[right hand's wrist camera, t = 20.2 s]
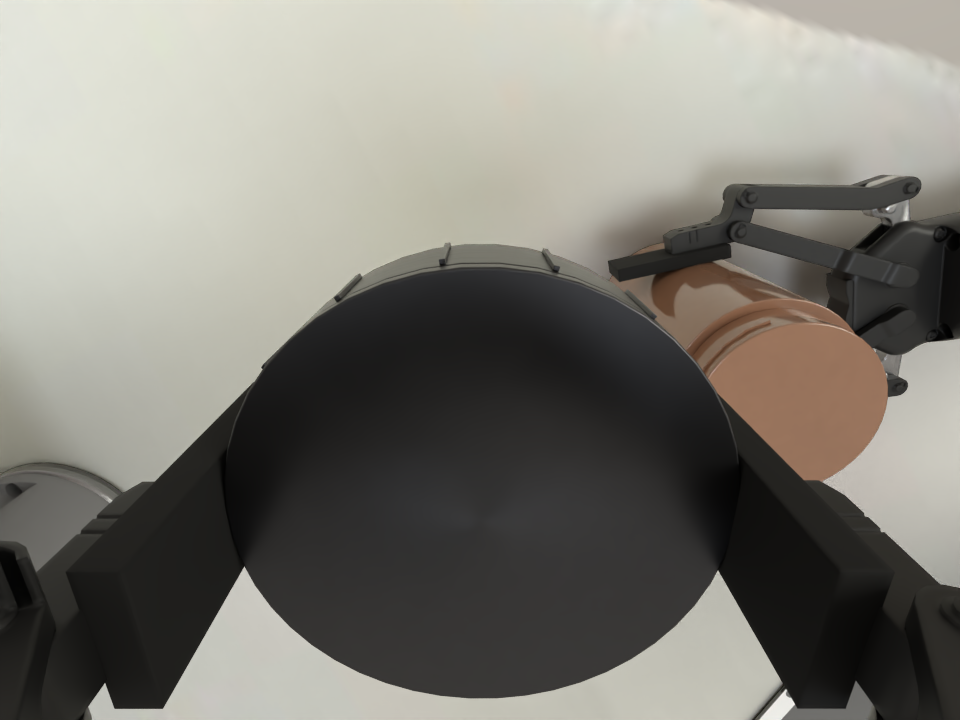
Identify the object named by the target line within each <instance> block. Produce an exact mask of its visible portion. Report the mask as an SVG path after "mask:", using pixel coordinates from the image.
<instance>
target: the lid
mask: <svg viewBox="0 0 960 720" xmlns="http://www.w3.org/2000/svg"><path fill="white" fill-rule="evenodd" d="M656 317H657V315H655V314H654V313H653V312H652V311H651V310H650V309H649V308H648V307H647V306H646V305H645V304H643V303H642V302H641V301H640V300H639V299H638V298H637V297H636V296H635V295H634V294H633V293H631V292H630V291H629V290H628V289H627V290H626V291H625V292H623V291H622V290H621V289H620V288H618V287H617V286H616V285H615V284H613V283H612V282H610V281H608V280H606V279H605V278H603V277H601V276H600V275H598V274H596V273H595V272H593V271H591V270H590V269H588V268H586V267H583V266H581V265H578V264H576V263H574V262H571V261H569V260H566V259H564V258H562V257H559V256H556V255H552V254H551V253H550V252H549V250H548V249H545V248H543V250H542V252H541V251H537V250H533V249H529V248H522V247H514V246H507V245H499V244H464V245H457V246H451V243H445V245H444V247H443V248H436V249H431V250H427V251H423V252H420V253H416V254H413V255H409V256H406V257H402V258H400V259H398V260H395V261H393V262H391V263H388V264H386V265H384V266H381V267H379V268H377V269H374V270H373V271H371V272H369V273H368V274H366V275H364V276H363V277H362V276H361V275H360V274H358V275H356V276H355V277H354V278H353V279H352V280H351V281H350V282H349V283H348V284H347V285H346V286H345V287H344V288H343V289H342V290H341V291H340V292H339V293H338V294H337V295H336V296H335V297H333V298H332V299H331V300H330V301H329V302H327V303H326V304H325V305H324V306H323V307H322V308H321V309H320V310H319V311H318V312H317V313H316V314H315V315H314V316H313V317H312V318H311V319H309V320H308V321H307V322H306V323H305V324H304V325H303V326H302V327H301V328H300V329H299V330H298V331H297V332H296V333H295V334H294V335H293V336H292V337H291V338H290V339H289V340H288V341H287V342H286V343H285V344H284V345H283V346H282V347H281V348H280V349H279V350H278V351H277V352H276V353H274V354H273V355H272V356H271V357H270V358H269V359H268V360H267V361H266V362H265V363H264V364H263V366H262V367H261V368H262V369H263V370H262V371H261V373H260V374H259V376H258V377H257V379H256V380H255V382H254V384H253V385H252V387H251V388H250V390H249V391H248V393H247V395H246V397H245V400H244V402H243V404H242V406H241V408H240V411H239V413H238V415H237V417H236V420H235V423H234V426H233V430H232V434H231V437H230V441H229V445H228V449H227V457H226V467H225V477H224V483H225V500H226V510H227V515H228V520H229V524H230V529H231V533H232V537H233V539H234V542H235V545H236V547H237V550H238V553H239V555H240V558H241V561H242V562H243V564H244V566H245V568H246V570H247V572H248V573H249V575H250V577H251V579H252V581H253V582H254V584H255V586H256V587H257V589H258V590H259V591H260V593H261V594H262V595H263V597H264V598H265V599H266V601H267V602H268V603H269V605H270V606H271V607H272V608H273V610H274V611H275V612H276V613H277V614H278V615H279V616H280V617H281V618H282V619H283V620H284V621H285V622H286V623H287V624H288V625H289V626H290V627H291V628H292V629H293V630H294V631H296V632H297V633H298V634H299V635H300V636H302V637H303V638H304V639H305V640H306V641H308V642H309V643H310V644H311V645H313V646H314V647H316V648H317V649H319V650H320V651H322V652H323V653H325V654H327V655H328V656H330V657H331V658H333V659H334V660H336V661H338V662H340V663H342V664H344V665H346V666H348V667H350V668H351V669H353V670H355V671H357V672H359V673H362V674H364V675H367V676H369V677H372V678H374V679H377V680H380V681H382V682H385V683H388V684H391V685H395V686H398V687H402V688H405V689H409V690H412V691H418V692H423V693H429V694H434V695H439V696H449V697H460V698H504V697H515V696H525V695H531V694H536V693H541V692H546V691H552V690H556V689H559V688H563V687H566V686H569V685H573V684H576V683H580V682H582V681H585V680H587V679H590V678H592V677H595V676H597V675H600V674H602V673H605V672H607V671H609V670H611V669H613V668H615V667H617V666H619V665H621V664H623V663H624V662H626V661H628V660H630V659H632V658H633V657H635V656H636V655H638V654H639V653H641V652H642V651H644V650H645V649H647V648H648V647H650V646H651V645H653V644H654V643H656V642H657V641H658V640H659V639H660V638H662V637H663V636H664V635H665V634H666V633H668V632H669V631H670V630H671V629H672V628H673V627H675V626H676V625H677V624H678V623H679V622H680V621H681V619H682V618H683V617H684V616H685V615H686V614H687V613H688V612H689V611H690V610H691V609H692V608H693V607H694V606H695V604H696V603H697V601H698V600H699V599H700V597H701V596H702V595H703V593H704V592H705V590H706V589H707V588H708V586H709V585H710V584H711V582H712V580H713V578H714V576H715V574H716V572H717V571H718V569H719V567H720V565H721V563H722V561H723V559H724V557H725V554H726V552H727V548H728V544H729V540H730V535H731V530H732V526H733V521H734V516H735V511H736V507H737V502H738V496H739V491H740V470H739V461H738V452H737V446H736V442H735V438H734V435H733V431H732V428H731V424H730V421H729V417H728V415H727V413H726V411H725V409H724V407H723V405H722V402H721V400H720V398H719V396H718V394H717V392H716V390H715V388H714V387H713V385H712V384H711V382H710V381H709V379H708V378H707V376H706V375H705V373H704V372H703V370H702V369H701V367H700V366H699V364H698V363H697V362H696V361H695V360H694V359H693V357H692V356H691V355H690V354H689V353H688V352H687V351H686V350H685V349H684V348H683V347H682V346H681V345H680V343H679V342H678V341H677V340H676V339H675V338H674V337H673V336H672V335H671V334H670V333H669V332H667V330H665V329H664V328H663V327H662V326H661V325H660V324H659V323H658V322H657V321H656V320H655V318H656Z"/></svg>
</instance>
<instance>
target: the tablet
mask: <svg viewBox="0 0 960 720" xmlns="http://www.w3.org/2000/svg"><path fill="white" fill-rule="evenodd" d="M872 706H873V704H872V702H871V701H870V700H869V698H868V697H867V695H866V694H865V693H864V691H863V690H862V688H861V687H860V686H859V684H858V683H857V681H856V682H855V685H854V687H853V690H852V693H851V696H850V698H849V701H848V704H847V707H846V709H797V707H796V705H795V704H794V702H793V700H792V698H791V697H790V695H789V693H788V691H787V690H786V688H785V686H783V688H782V689H781V690H780V691H779V692H778V693H777V694H776V696H775V697H774V698H773V699H772V700H771V701H770V703H769V704H768V705H767V706H766V707H765V708H764V709H763V711H762V712H761V713H760V714H759V715H758V716H757V717H756V719H755V720H867V719H868V716H869V713H870V711H871V708H872Z"/></svg>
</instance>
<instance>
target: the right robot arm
mask: <svg viewBox="0 0 960 720" xmlns="http://www.w3.org/2000/svg"><path fill="white" fill-rule="evenodd" d="M253 384H254V382H253V383H252V384H251V385H250V386H249V387H248V388H247V389H246V390H245V391H244V392H243V394H242V395H241V396H240V397H239V398H238V399H237V400H236V401H235V402H234V403H233V404H232V405H231V406H230V407H229V408H228V409H227V410H226V411H225V412H224V413H223V414H222V415H221V416H220V417H219V418H218V419H217V420H216V421H215V422H214V423H213V424H212V425H211V426H210V427H209V428H208V429H207V430H206V431H205V432H204V433H203V434H202V435H201V436H200V437H199V438H198V439H197V440H196V441H195V442H194V443H193V444H192V445H191V446H190V447H189V448H188V449H187V450H186V451H185V452H184V453H183V454H182V455H181V456H180V457H179V458H178V459H177V460H176V461H175V462H174V463H173V464H172V465H171V466H170V467H169V468H168V469H167V470H166V471H165V472H164V473H163V474H162V475H161V476H160V477H159V478H158V479H157V480H156V481H155V482H141V483H140V484H138V485H136V486H134V487H133V488H131V489H129V490H128V491H126V492H124V493H122V492H120V491H119V490H118V489H117V488H115V487H114V486H112V485H111V484H109V483H108V482H106V481H104V480H103V479H101V478H99V477H97V476H95V475H93V474H91V473H88V472H86V471H83V470H80V469H77V468H74V467H70V466H66V465H60V464H52V463H34V464H27V465H22V466H18V467H15V468H13V469H10V470H8V471H6V472H4V473H3V474H1V475H0V720H92V717H91V713H90V711H89V708H88V706H89V705H90V703H91V702H92V700H93V699H94V697H95V696H96V695H97V693H98V692H99V690H100V689H101V688H102V686H103V685H104V683H106V686H107V689H108V692H109V694H110V697H111V700H112V703H113V706H114V708H115V709H163V708H164V706H165V704H166V702H167V701H168V699H169V697H170V695H171V694H172V692H173V690H174V688H175V687H176V685H177V683H178V681H179V680H180V678H181V676H182V674H183V673H184V671H185V669H186V667H187V666H188V664H189V662H190V660H191V659H192V657H193V655H194V653H195V652H196V650H197V648H198V646H199V645H200V643H201V641H202V639H203V638H204V636H205V634H206V632H207V631H208V629H209V627H210V625H211V624H212V622H213V620H214V618H215V617H216V615H217V613H218V611H219V610H220V608H221V606H222V604H223V603H224V601H225V599H226V597H227V596H228V594H229V592H230V590H231V589H232V587H233V585H234V583H235V582H236V580H237V578H238V576H239V575H240V573H241V571H242V569H243V568H244V564H243V562H242V561H241V558H240V555H239V553H238V550H237V547H236V545H235V542H234V539H233V537H232V533H231V529H230V524H229V520H228V515H227V510H226V500H225V483H224V477H225V467H226V457H227V449H228V445H229V441H230V437H231V434H232V430H233V426H234V423H235V420H236V417H237V415H238V413H239V411H240V408H241V406H242V404H243V402H244V400H245V397H246V395H247V393H248V391H249V390H250V388H251V387H252V385H253ZM717 394H718V393H717ZM718 396H719V398H720V400H721V402H722V405H723V407H724V409H725V411H726V413H727V415H728V417H729V421H730V424H731V428H732V431H733V435H734V438H735V442H736V446H737V452H738V461H739V470H740V491H739V496H738V502H737V507H736V511H735V516H734V521H733V526H732V530H731V535H730V540H729V544H728V548H727V552H726V554H725V557H724V559H723V561H722V563H721V565H720V567H719V569H718V571H719V572H720V574H721V576H722V578H723V579H724V581H725V583H726V585H727V586H728V588H729V590H730V592H731V593H732V595H733V597H734V599H735V600H736V602H737V604H738V606H739V607H740V609H741V611H742V613H743V614H744V616H745V618H746V620H747V621H748V623H749V625H750V627H751V628H752V630H753V632H754V634H755V635H756V637H757V639H758V641H759V642H760V644H761V646H762V648H763V649H764V651H765V653H766V655H767V656H768V658H769V660H770V662H771V663H772V665H773V667H774V669H775V670H776V672H777V674H778V676H779V677H780V679H781V681H782V683H783V684H784V686H785V688H786V690H787V691H788V693H789V695H790V697H791V698H792V700H793V702H794V704H795V705H796V707H797V709H846V707H847V704H848V701H849V698H850V696H851V693H852V690H853V687H854V685H855V682H856V681H857V683H858V684H859V686H860V687H861V688H862V690H863V691H864V693H865V694H866V695H867V697H868V698H869V700H870V701H871V702H872V704H873V706H872V708H871V711H870V713H869V716H868V719H867V720H960V588H957V587H952V586H947V585H940V584H939V583H938V582H937V581H936V580H935V579H934V578H933V577H932V576H931V575H929V574H928V573H927V572H926V571H925V570H924V569H923V568H922V567H921V566H920V565H919V564H918V563H917V562H916V561H915V560H913V559H912V558H911V557H910V556H909V555H908V554H907V553H906V552H905V551H904V550H903V549H902V548H901V547H900V546H898V545H897V544H896V543H895V542H894V541H893V540H892V539H891V538H890V537H889V536H888V535H887V534H886V533H885V532H881V531H880V528H879V527H878V526H877V525H876V524H875V523H874V522H873V521H872V520H871V519H870V518H869V517H865V516H864V513H863V512H862V511H861V510H860V509H859V508H858V507H857V506H856V505H855V504H854V503H853V502H851V501H850V500H849V499H848V498H847V497H846V496H845V495H843V494H842V493H840V492H838V491H836V490H835V489H833V488H831V487H829V486H828V485H826V484H824V483H823V482H821V481H819V480H803V479H802V478H801V477H800V476H799V475H798V474H797V473H796V472H795V471H794V470H793V469H792V468H791V467H790V466H789V465H788V464H787V463H786V462H785V461H784V460H783V459H782V458H781V457H780V456H779V455H778V454H777V453H776V452H775V451H774V450H773V449H772V448H771V447H770V446H769V445H768V443H767V442H766V441H765V440H764V439H763V438H762V437H761V436H760V435H759V434H758V433H757V432H756V431H755V430H754V429H753V428H752V427H751V426H750V425H749V424H748V423H747V422H746V421H745V420H744V419H743V418H742V417H741V416H740V415H739V414H738V413H737V412H736V411H735V410H734V409H733V408H732V407H731V406H730V405H729V404H728V403H727V402H726V401H725V400H724V399H723V398H722V397H721V396H720V395H719V394H718Z"/></svg>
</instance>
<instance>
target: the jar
mask: <svg viewBox="0 0 960 720" xmlns="http://www.w3.org/2000/svg"><path fill="white" fill-rule="evenodd" d="M664 248H665V247H664V243H659V244H655V245H651V246H648V247H646V248H643V249H641V250H640V251H638V252H636V253H634V254H633V255H637V254H642V253H646V252H650V251H655V250H659V249H664ZM633 255H631V256H633ZM609 281H610V282H612V283H613V284H615V285H616V286H617V287H618V288H620V289H621V290H622V291H623V292H625V291H626V290H627V289H628V290H629V291H630V292H631V293H633V294H634V295H635V296H636V297H637V298H638V299H639V300H640V301H641V302H642V303H643V304H645V305H646V306H647V307H648V308H649V309H650V310H651V311H652V312H653V313H654V314H655V315H657V317H656V318H655V320H656V321H657V322H658V323H659V324H660V325H661V326H662V327H663V328H664V329H665V330H667V332H669V333H670V334H671V335H672V336H673V337H674V338H675V339H676V340H677V341H678V342H679V343H680V345H681V346H682V347H683V348H684V349H685V350H686V351H687V352H688V353H689V354H690V355H691V356H692V357H693V359H694V360H695V361H696V362H697V363H698V364H699V366H700V367H701V369H702V370H703V372H704V373H705V375H706V376H707V378H708V379H709V381H710V382H711V384H712V385H713V387H714V388H715V390H716V392H717V393H718V394H719V395H720V396H721V397H722V398H723V399H724V400H725V401H726V402H727V403H728V404H729V405H730V406H731V407H732V408H733V409H734V410H735V411H736V412H737V413H738V414H739V415H740V416H741V417H742V418H743V419H744V420H745V421H746V422H747V423H748V424H749V425H750V426H751V427H752V428H753V429H754V430H755V431H756V432H757V433H758V434H759V435H760V436H761V437H762V438H763V439H764V440H765V441H766V442H767V443H768V445H769V446H770V447H771V448H772V449H773V450H774V451H775V452H776V453H777V454H778V455H779V456H780V457H781V458H782V459H783V460H784V461H785V462H786V463H787V464H788V465H789V466H790V467H791V468H792V469H793V470H794V471H795V472H796V473H797V474H798V475H799V476H800V477H801V478H802V479H803V480H819V481H821V482H823V480H825V479H827V478H829V477H831V476H833V475H834V474H836V473H837V472H839V471H840V470H842V469H843V468H845V467H846V466H847V465H848V464H850V463H851V462H852V461H853V460H854V459H855V458H856V457H857V456H858V455H859V454H860V453H861V452H862V451H863V450H864V449H865V448H866V447H867V445H868V444H869V443H870V442H871V440H872V438H873V437H874V435H875V434H876V432H877V430H878V428H879V426H880V424H881V422H882V419H883V416H884V413H885V410H886V405H887V399H888V384H887V377H886V373H885V370H884V367H883V365H882V363H881V361H880V359H879V357H878V355H877V354H876V353H875V351H874V350H873V349H872V347H871V346H870V345H869V344H868V343H866V342H865V341H864V340H863V339H862V338H860V337H859V336H857V335H856V334H855V333H854V331H853V330H852V329H851V327H850V326H849V325H848V324H847V323H846V322H845V321H844V320H843V319H842V318H841V317H840V316H839V315H837V314H836V313H834V312H833V311H831V310H830V309H828V308H826V307H824V306H822V305H819V304H817V303H815V302H813V301H811V300H809V299H807V298H804V297H802V296H800V295H798V294H796V293H794V292H791V291H789V290H787V289H785V288H783V287H781V286H779V285H776V284H774V283H772V282H770V281H768V280H766V279H763V278H761V277H759V276H757V275H755V274H753V273H751V272H748V271H746V270H744V269H742V268H740V267H738V266H735V265H733V264H731V263H729V262H727V261H725V260H723V259H722V260H717V261H713V262H708V263H704V264H699V265H695V266H690V267H686V268H681V269H677V270H672V271H668V272H663V273H659V274H654V275H650V276H645V277H640V278H636V279H631V280H627V281H622V282H619V281H618V280H617V279H616V278H615V277H614V276H613V275H612V277H611V279H610V280H609Z"/></svg>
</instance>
